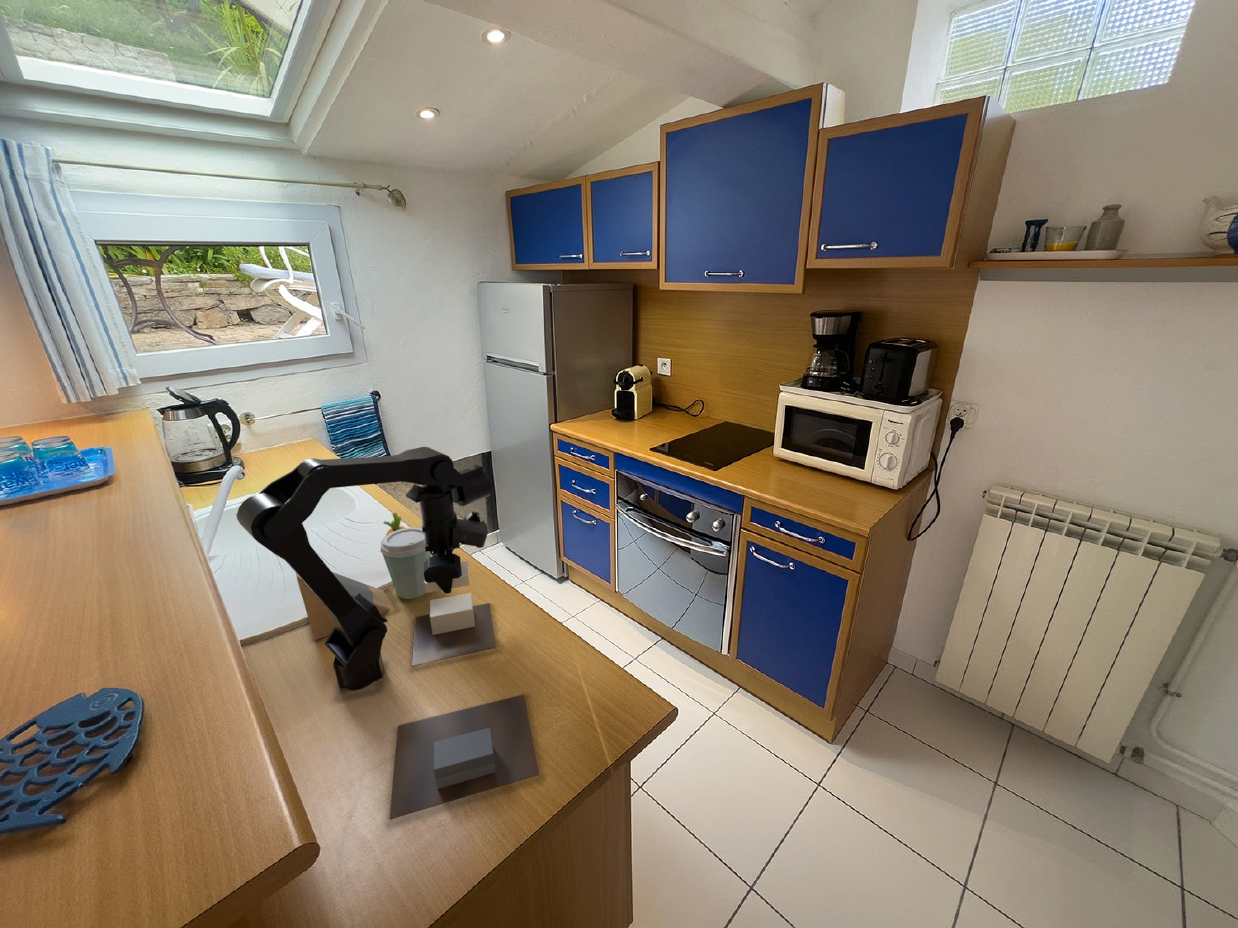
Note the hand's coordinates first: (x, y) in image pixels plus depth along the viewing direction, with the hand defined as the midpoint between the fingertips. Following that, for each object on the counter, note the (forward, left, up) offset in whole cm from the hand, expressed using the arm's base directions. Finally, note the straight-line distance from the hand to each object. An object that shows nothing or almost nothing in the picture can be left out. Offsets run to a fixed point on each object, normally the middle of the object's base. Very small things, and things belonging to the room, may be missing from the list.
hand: (447, 584), depth 97 cm
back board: (0, -3, -10) cm, 11 cm away
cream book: (0, 0, +1) cm, 1 cm away
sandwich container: (-20, +10, -11) cm, 25 cm away
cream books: (0, 0, -9) cm, 9 cm away
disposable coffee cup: (-8, +14, -11) cm, 19 cm away
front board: (+1, -30, -10) cm, 32 cm away
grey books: (+1, -33, -9) cm, 34 cm away
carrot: (-11, +24, -11) cm, 29 cm away
